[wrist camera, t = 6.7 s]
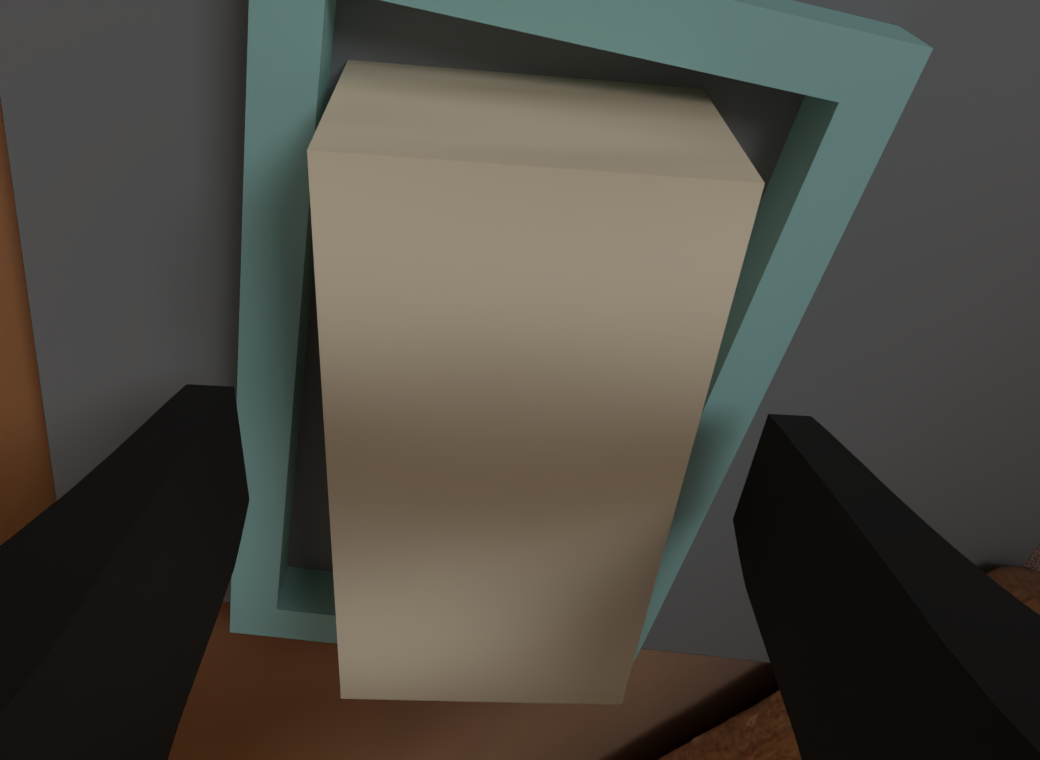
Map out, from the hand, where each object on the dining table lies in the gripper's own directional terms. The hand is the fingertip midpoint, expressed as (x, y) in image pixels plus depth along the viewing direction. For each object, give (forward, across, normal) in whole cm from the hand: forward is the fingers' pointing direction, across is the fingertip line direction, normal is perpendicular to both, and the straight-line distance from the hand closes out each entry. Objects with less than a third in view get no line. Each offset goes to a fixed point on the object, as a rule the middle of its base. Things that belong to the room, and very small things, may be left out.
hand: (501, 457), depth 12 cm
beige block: (+2, 0, 0) cm, 2 cm away
